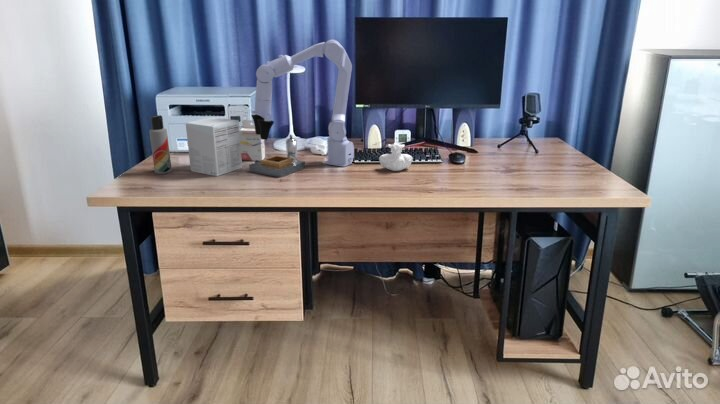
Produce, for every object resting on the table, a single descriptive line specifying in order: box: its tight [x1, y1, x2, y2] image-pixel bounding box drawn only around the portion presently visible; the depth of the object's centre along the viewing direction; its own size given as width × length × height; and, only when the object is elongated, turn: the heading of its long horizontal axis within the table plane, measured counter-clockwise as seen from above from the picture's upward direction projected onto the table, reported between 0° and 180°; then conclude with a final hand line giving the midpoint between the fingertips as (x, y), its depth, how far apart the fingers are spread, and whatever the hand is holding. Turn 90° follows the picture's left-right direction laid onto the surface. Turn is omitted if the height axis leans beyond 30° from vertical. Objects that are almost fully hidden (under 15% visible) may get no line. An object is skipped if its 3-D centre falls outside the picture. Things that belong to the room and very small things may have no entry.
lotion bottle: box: [148, 114, 172, 175], centre depth 186 cm, size 6×6×20 cm
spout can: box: [285, 134, 298, 160], centre depth 202 cm, size 4×4×10 cm
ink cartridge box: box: [239, 119, 266, 162], centre depth 204 cm, size 9×5×15 cm, turn 84°
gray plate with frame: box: [248, 154, 306, 178], centre depth 192 cm, size 17×14×4 cm
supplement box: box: [185, 116, 243, 177], centre depth 190 cm, size 13×13×18 cm
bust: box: [378, 142, 414, 172], centre depth 190 cm, size 12×8×11 cm
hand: (261, 136), depth 196 cm, fingers open, 7 cm apart
